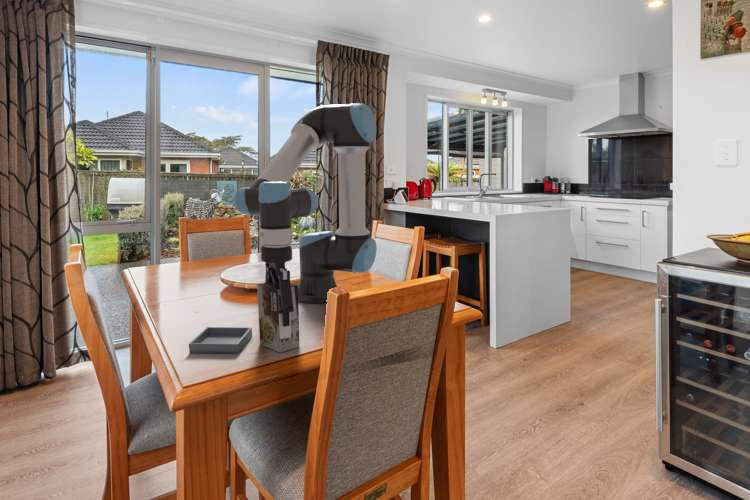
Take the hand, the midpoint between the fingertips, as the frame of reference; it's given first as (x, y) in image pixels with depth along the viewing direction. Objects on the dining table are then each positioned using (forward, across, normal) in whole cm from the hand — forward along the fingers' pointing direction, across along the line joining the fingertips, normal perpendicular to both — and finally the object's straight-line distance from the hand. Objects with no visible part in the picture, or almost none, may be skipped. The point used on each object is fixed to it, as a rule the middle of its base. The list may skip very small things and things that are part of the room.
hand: (279, 330), depth 117 cm
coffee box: (+4, 0, 0) cm, 4 cm away
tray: (+4, -7, -13) cm, 15 cm away
